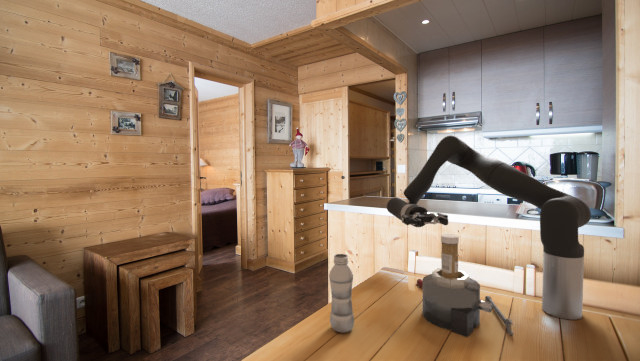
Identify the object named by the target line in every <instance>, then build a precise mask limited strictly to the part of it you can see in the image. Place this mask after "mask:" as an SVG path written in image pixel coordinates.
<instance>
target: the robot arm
mask: <svg viewBox="0 0 640 361" xmlns="http://www.w3.org/2000/svg"><path fill="white" fill-rule="evenodd" d="M446 162H448V163H450V164H452V165H455V166H458V167H460V168H462V169H465V170H466V171H468V172H470V173H471V174H473V175H474V176H475V177H476V178H478V180H480V181H481V182H482V183H483V184H485V185H486V186H487V187H489V188H491V189H493V190H494V191H496V192H498V193H500V194H501V195H504V196H507V197H508V198H512V199H514V200H519V201H521V202H524V203H528V204H530V205H533V206H534V207H536V208H538V209H539V210H540V212H539V213H540V214H539V229H540V230H539V235H540V242H541V244H542V247H543V254H542V257H543V259H542V295H541V297H542V299H541V301H542V302H541V308H542V310H543V312H545V313H546V314H548V315H551V316H553V317H556V318H560V319H564V320H571V321H572V320H580V319H582V318H583V300H584V268H585V265H584V263H585V247H584V246H583V244H581V243H580V241H579V228H582V227H584V226H585V225H587V224H588V223H589V222H590V220H591V217H592V212H591V209H590V207H589V206H588V205H587V204H586V203H585V201H583V200H582V199H580V198H578V197H575V196H573V195H571V194H568V193H566V192H563V191H560V190H558V189H557V188H556V189H555V188H554V187H551V186H548V185H546V184H545V183H542V182H541V181H539V180H537V179H536V178H534V177H533V176H530V175H529V174H527V173H525V172H523V171H521V170H520V169H518V168H516V167H514V166H512V165H510V164H508V163H507V162H504V161H502V160H499V159H497V158H494V157H489V156H486V155H483V154H482V153H480V152H478V151H477V150H475V149H473V148H472V146H470V145H468V144H467V143H466V142H465V141H463V140H462V139H460V138H459V137H458V136H456V135H447V136H445V137H443V138H442V139H441V140H440V141H439V142H438V144H437V145H436V146H435V148H434V150H433V151H432V153H431V154H430V156H429V158H428V159H427V160H426V162H425V164H424V165H423V167H422V168H421V170H420V171H419V172H418V174H417V175H416V177H414V179H413V180H412V181H411V182H410V183H409V184H408V186H406V188H405V189H404V191H403V195H404V197H405V198H406V199H407V200H408V202H406V201H405V200H403V199H402V198H399V197H392V198H390V199H389V200H388V201H387V203H386V210H387V212H389V213H390V214H391V215H393V216H394V217H395V218H397V219H398V220H400V221H401V223H402V224H404V225H406V226H409V225H411V226H412V227H415V228H421V227H422V228H423V227H424V226H426V225H437V224H441V225H442V226H448V225H449V216H448V215H447V214H444V213H441V212H437V213H435V212H434V213H432V212H429V211H428V209H426V207H424V206H421V205H419V204H418V203H419V201H420V200H421V199H422V198H423V197H424V196H425V195H426V194H427V193H428V191H429V190H430V188H431V187H432V186H433V183H434V180H435V178H436V175H437V173H438V172H439V170H440V169H441V167H442V166H443V165H445V163H446Z"/></svg>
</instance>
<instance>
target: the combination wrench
mask: <svg viewBox="0 0 640 361" xmlns="http://www.w3.org/2000/svg"><path fill="white" fill-rule="evenodd" d="M484 301H485V302H489V303H491V304H492V309H493V311H494V312H495V314H496V315H497V316H498V318H499V319H500V320H501V321H502V323H503V324H504V326H505V328H506V332H507V334H508V335H509V336H513V335H514V332H513V330H512V326H511V325H514V324H513V321H512V319H511V318H507V317H506V316H505V315H504V313H502V312H501V310H500V309H499V308H498V306H497V305H496V304H495V302H494V301H493V299H492V297H491V296H490V295H485V298H484Z"/></svg>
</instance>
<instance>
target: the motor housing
mask: <svg viewBox="0 0 640 361" xmlns="http://www.w3.org/2000/svg"><path fill="white" fill-rule="evenodd" d="M422 281H423V289H422V317H423V319H425V320H426V321H427V322H428V323H430V324H431V325H434V326H435V327H438V328H440V329H444V330H449V331H450V332H451V333H455V334H457V335H459V336H462V337H465V338H468V337H469V336H470V335H471V334H473V332H474V329H477V328H478V327H479V326H480V323H481V322H480V321H481V317H480V316H481V315H480V312H481V311H483V312H486V313H492V309H493V308H492V304H491V303H489V302H485V300H481V284H480V283H479V282H478V281H476V280H475V279H473V278H470V275H469V274H467V273H466V272H465V271H464V270H461V269H458V278H446V277H442V267H441V268H437V269H435V270H432V273H430V274H426V275H425V276H424V277H423V278H422Z"/></svg>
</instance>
